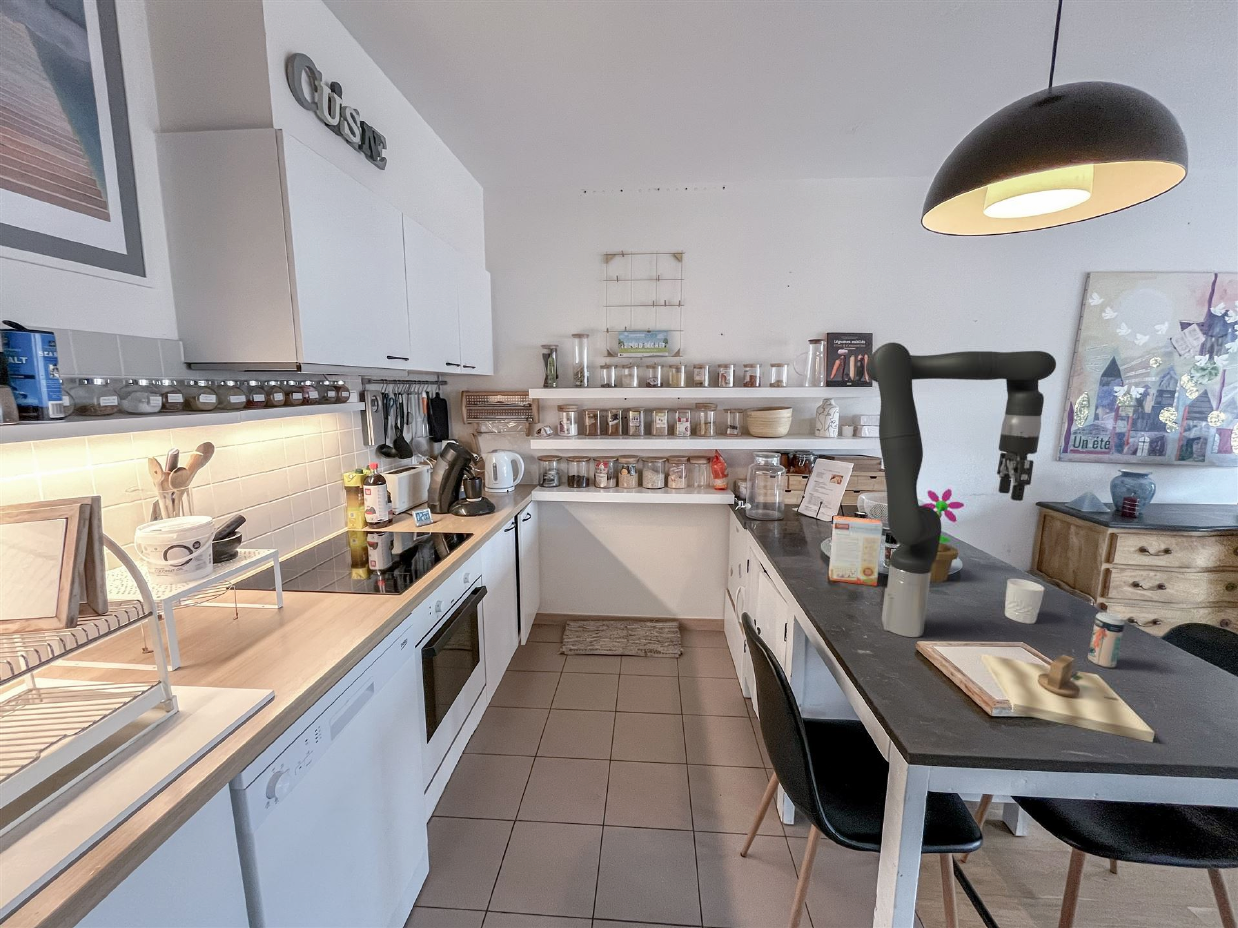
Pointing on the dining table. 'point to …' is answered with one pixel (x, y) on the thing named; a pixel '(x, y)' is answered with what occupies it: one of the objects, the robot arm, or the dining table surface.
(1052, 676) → the tuning knob
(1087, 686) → the dial board
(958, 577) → the dining table surface
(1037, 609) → the white cup
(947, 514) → the flowerpot
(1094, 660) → the beer can
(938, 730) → the dining table surface
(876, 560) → the cracker box
